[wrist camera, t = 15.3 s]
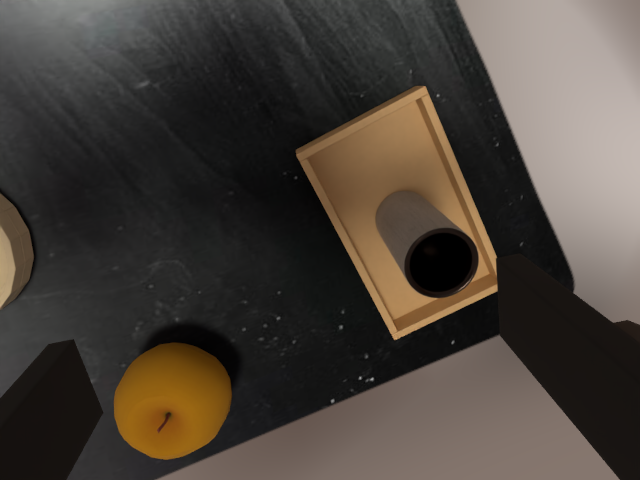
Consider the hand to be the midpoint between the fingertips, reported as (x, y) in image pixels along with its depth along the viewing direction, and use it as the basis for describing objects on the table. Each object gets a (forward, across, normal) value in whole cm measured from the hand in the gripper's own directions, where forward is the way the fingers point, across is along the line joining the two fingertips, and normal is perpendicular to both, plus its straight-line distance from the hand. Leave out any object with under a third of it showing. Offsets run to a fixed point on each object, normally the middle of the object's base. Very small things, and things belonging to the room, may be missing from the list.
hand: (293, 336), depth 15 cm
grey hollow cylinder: (+23, +8, -4) cm, 25 cm away
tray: (+23, +8, -4) cm, 25 cm away
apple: (+24, -12, -14) cm, 30 cm away
